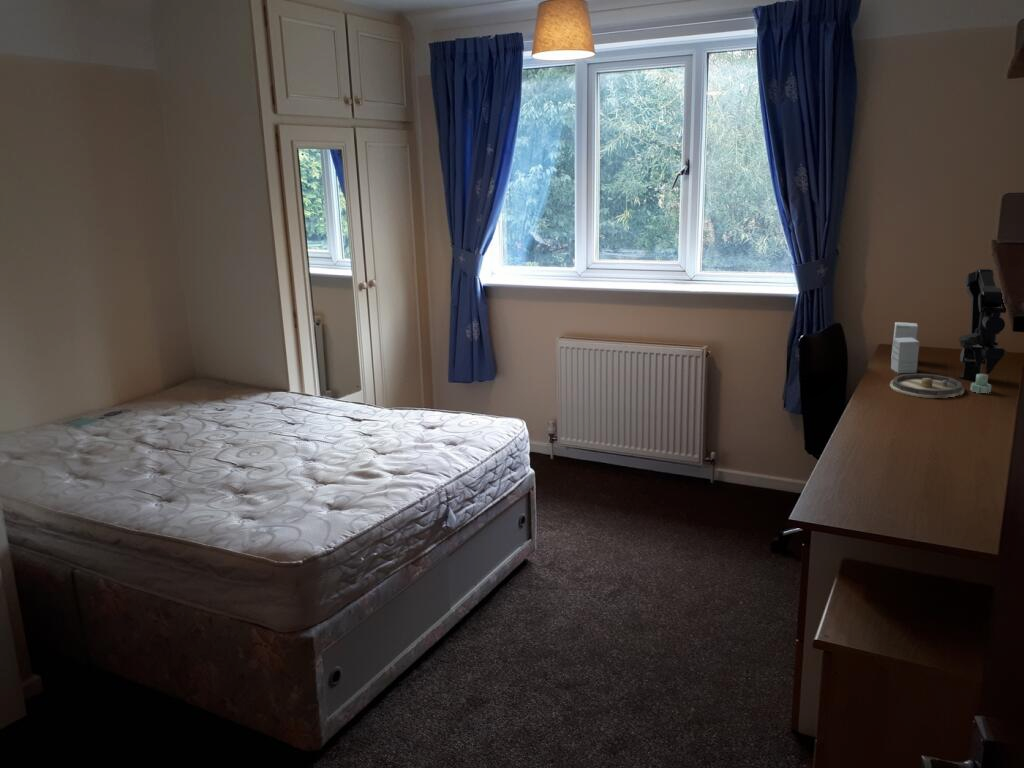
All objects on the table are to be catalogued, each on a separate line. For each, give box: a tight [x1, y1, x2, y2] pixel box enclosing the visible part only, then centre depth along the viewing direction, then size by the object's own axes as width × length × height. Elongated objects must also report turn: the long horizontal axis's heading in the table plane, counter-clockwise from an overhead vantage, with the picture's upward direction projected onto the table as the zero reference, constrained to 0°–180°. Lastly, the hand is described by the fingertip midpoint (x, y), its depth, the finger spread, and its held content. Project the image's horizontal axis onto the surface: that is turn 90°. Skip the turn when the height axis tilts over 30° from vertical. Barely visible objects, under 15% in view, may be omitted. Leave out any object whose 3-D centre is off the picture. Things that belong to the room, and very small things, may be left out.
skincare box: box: [890, 321, 919, 361], centre depth 321 cm, size 8×7×16 cm
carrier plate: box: [889, 373, 965, 399], centre depth 287 cm, size 24×24×4 cm
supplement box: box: [890, 337, 920, 374], centre depth 309 cm, size 7×7×13 cm
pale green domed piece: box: [969, 373, 992, 394], centre depth 281 cm, size 6×6×6 cm
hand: (982, 370), depth 279 cm, fingers open, 9 cm apart
